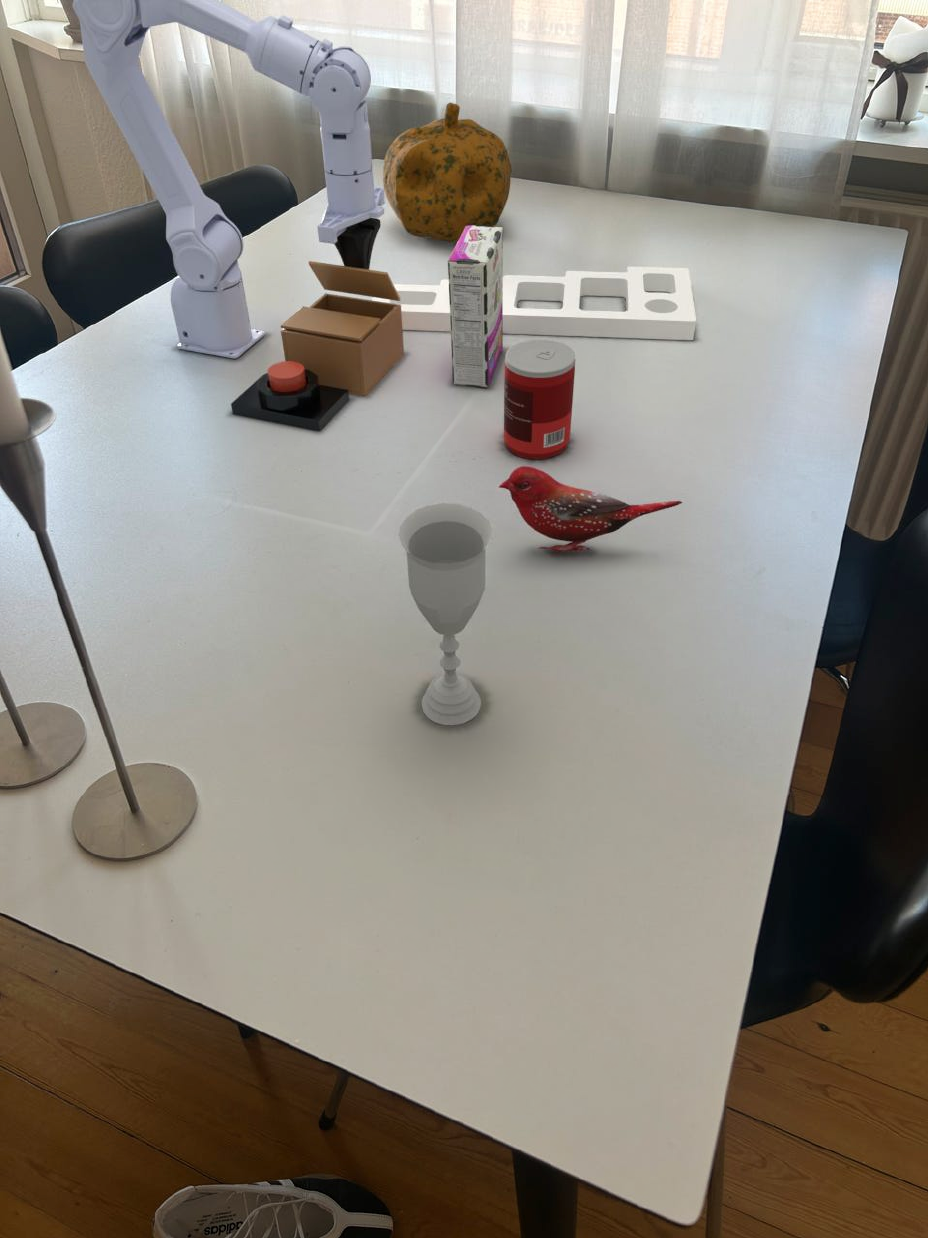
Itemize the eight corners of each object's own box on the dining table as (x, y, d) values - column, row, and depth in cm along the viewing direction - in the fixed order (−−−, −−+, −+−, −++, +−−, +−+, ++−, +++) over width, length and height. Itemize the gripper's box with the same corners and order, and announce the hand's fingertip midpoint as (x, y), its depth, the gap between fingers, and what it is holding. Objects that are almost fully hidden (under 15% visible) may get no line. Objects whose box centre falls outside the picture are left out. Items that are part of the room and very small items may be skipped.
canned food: (576, 430, 114) (583, 343, 107) (559, 465, 109) (565, 376, 101) (515, 420, 116) (517, 334, 109) (494, 454, 111) (495, 366, 103)
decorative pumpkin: (393, 200, 171) (395, 76, 157) (510, 215, 170) (522, 91, 156) (369, 248, 157) (368, 116, 143) (496, 265, 156) (509, 133, 142)
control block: (232, 414, 118) (227, 388, 116) (265, 384, 124) (261, 359, 121) (319, 431, 115) (316, 405, 113) (349, 400, 120) (346, 374, 118)
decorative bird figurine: (497, 542, 98) (498, 458, 92) (672, 543, 98) (686, 459, 91) (497, 559, 96) (498, 475, 90) (676, 561, 96) (690, 476, 89)
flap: (324, 289, 127) (325, 287, 127) (399, 301, 124) (400, 298, 124) (307, 263, 122) (308, 260, 122) (386, 274, 119) (387, 272, 119)
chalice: (409, 675, 84) (396, 505, 72) (486, 669, 85) (487, 500, 73) (413, 738, 79) (400, 566, 67) (495, 732, 79) (497, 560, 67)
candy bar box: (467, 346, 131) (465, 223, 120) (503, 349, 130) (505, 225, 119) (449, 386, 123) (446, 258, 112) (488, 389, 122) (488, 260, 111)
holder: (368, 328, 135) (366, 309, 134) (389, 276, 149) (388, 259, 147) (693, 340, 131) (696, 321, 129) (686, 285, 144) (688, 268, 143)
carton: (330, 342, 132) (324, 287, 127) (404, 354, 129) (400, 299, 124) (288, 382, 124) (279, 325, 119) (365, 396, 121) (360, 338, 116)
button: (263, 390, 116) (260, 374, 115) (281, 373, 119) (278, 358, 118) (295, 396, 115) (293, 380, 114) (312, 379, 118) (310, 363, 117)
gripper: (352, 191, 109) (362, 306, 118) (403, 153, 119) (409, 262, 128) (296, 184, 111) (310, 298, 120) (352, 147, 121) (361, 255, 130)
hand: (358, 279), depth 124 cm, fingers closed
